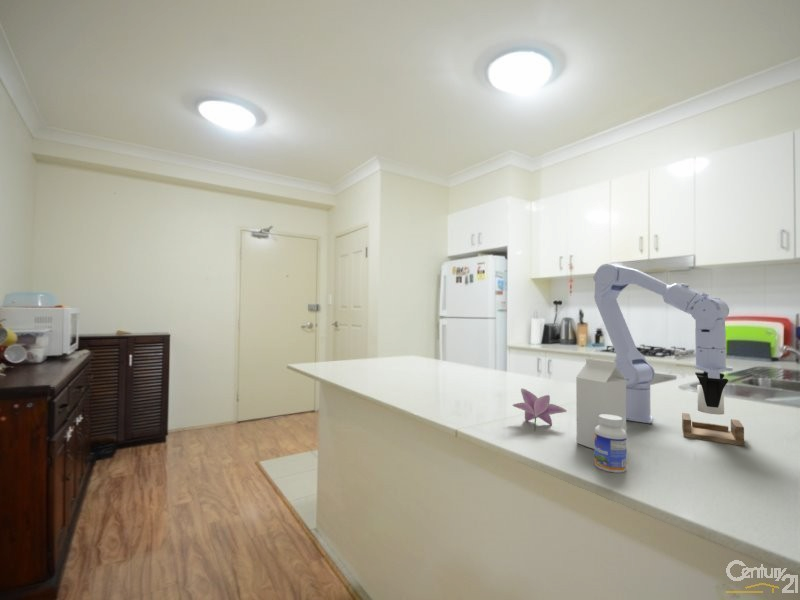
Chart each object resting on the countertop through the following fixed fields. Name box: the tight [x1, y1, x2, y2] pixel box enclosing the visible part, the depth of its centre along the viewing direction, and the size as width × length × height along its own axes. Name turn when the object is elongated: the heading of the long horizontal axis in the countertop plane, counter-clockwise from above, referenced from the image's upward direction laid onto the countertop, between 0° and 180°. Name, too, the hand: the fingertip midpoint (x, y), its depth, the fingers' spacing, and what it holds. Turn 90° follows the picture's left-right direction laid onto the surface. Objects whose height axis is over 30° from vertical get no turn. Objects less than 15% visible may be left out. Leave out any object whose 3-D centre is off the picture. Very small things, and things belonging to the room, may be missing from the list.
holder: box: [681, 412, 746, 447], centre depth 93 cm, size 11×8×4 cm
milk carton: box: [575, 358, 627, 450], centre depth 86 cm, size 7×7×19 cm
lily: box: [512, 388, 567, 432], centre depth 99 cm, size 12×12×10 cm
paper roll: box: [696, 384, 725, 416], centre depth 93 cm, size 5×5×6 cm
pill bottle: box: [593, 414, 627, 474], centre depth 74 cm, size 5×5×10 cm
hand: (711, 404), depth 93 cm, fingers closed on paper roll, 5 cm apart
